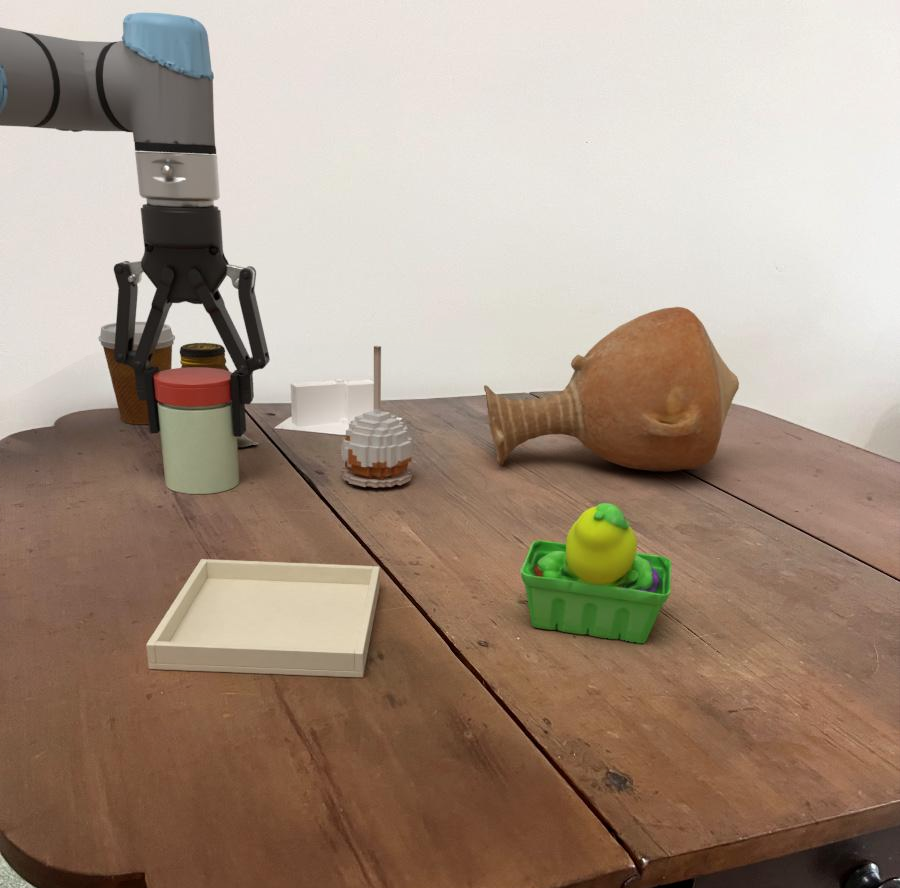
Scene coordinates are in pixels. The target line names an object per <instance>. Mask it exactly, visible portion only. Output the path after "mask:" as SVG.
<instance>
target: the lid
mask: <svg viewBox="0 0 900 888" xmlns="http://www.w3.org/2000/svg"><path fill="white" fill-rule="evenodd" d="M232 373H233V372H232V371H230V370H229V371H227V370H222V369H216V368H205V367H187V368H181V367H177V368H176V367H175V368H171V369H169V370H164V371H161V372H158V373H156V374H155V375H154V377H153V378H154V388H155V398H156V400H157V401H159V402H161V403H164V404H168V405H174V406H185V407H201V406H213V405H219V404H224V403H227V402H230V401H232V396H231V380H230V375H231V374H232Z"/></svg>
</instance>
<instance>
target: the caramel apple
mask: <svg viewBox="0 0 900 888" xmlns="http://www.w3.org/2000/svg"><path fill="white" fill-rule="evenodd" d="M373 380H374V410H372V411H369V412H366V413H364V414H362V415H359V416H356V417H355V420H353V421H351V423H350V424H349V429H348V430H346V435H345V437H343V438H342V443H341V447H340V457H341V459H342V461H343V462H344V466H343V467H342V470H341V471H340V475H341V477H342V479H343V481H346V482H348V484H351V485H355V486H359V487H363V488H366V487H369V488H373V489H375V488H376V489H377V488H392V487H394V486H396V485H397V486H402V485H403V484H404V485H405V484H406V483H408V482H410V481H412V477H413V471H412V470H411V469H410V467H409V463H410V462H412V459H413V455H414V451H413V450H414V438H412V436H411V435H410V428H409V427H408V426H407V425H406V422H405V421H401V420H400V421H399V419H396V417H397V415H395V414H392V413H391V412H388V411H383V410H381V408H382V407H381V402H382V401H381V400H382V345H381V346H380V345H374V346H373Z"/></svg>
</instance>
